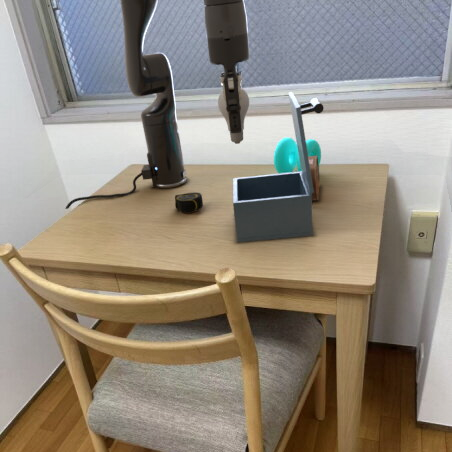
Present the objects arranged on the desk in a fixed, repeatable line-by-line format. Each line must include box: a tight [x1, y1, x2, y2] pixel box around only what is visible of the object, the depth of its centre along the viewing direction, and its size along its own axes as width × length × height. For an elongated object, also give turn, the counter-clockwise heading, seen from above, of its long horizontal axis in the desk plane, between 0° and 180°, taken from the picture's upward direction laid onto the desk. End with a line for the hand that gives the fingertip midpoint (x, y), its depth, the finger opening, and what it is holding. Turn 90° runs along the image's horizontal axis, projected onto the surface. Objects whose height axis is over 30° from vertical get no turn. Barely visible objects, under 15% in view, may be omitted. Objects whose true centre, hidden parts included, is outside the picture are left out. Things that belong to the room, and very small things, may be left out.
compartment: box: [232, 171, 313, 243], centre depth 104 cm, size 16×15×9 cm
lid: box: [287, 91, 325, 193], centre depth 96 cm, size 17×15×5 cm
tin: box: [308, 155, 321, 201], centre depth 116 cm, size 15×3×8 cm, turn 168°
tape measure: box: [174, 192, 204, 214], centre depth 117 cm, size 7×7×4 cm
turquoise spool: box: [273, 136, 322, 174], centre depth 127 cm, size 10×10×10 cm
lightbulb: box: [217, 87, 250, 145], centre depth 94 cm, size 6×6×11 cm
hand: (236, 127), depth 95 cm, fingers closed on lightbulb, 6 cm apart
